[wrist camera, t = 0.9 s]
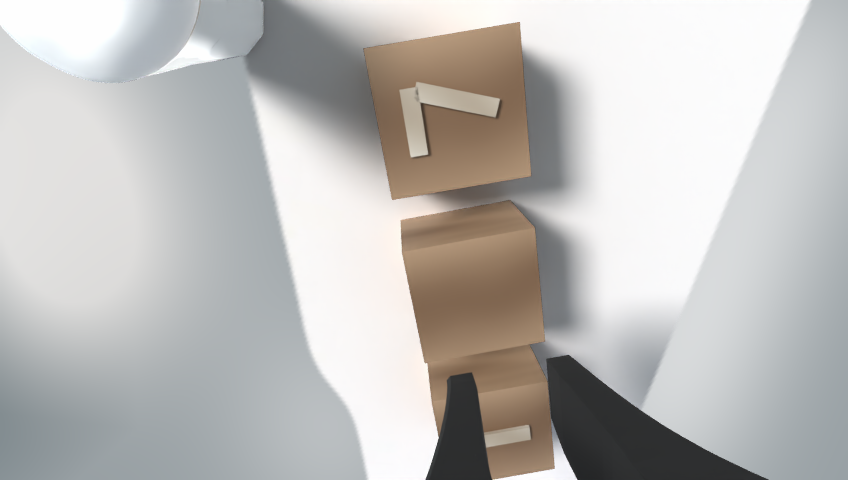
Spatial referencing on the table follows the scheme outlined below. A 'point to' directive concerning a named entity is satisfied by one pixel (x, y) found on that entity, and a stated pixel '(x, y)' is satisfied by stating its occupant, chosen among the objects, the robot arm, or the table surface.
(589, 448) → the robot arm
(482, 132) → the digit block seven
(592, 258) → the table surface
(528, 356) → the digit block one
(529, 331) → the blank block
